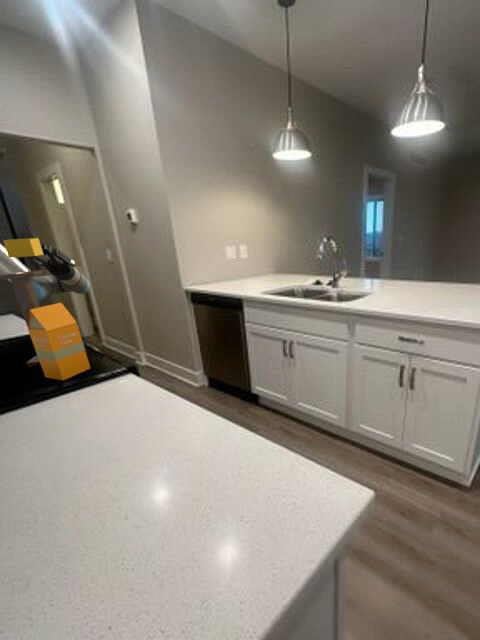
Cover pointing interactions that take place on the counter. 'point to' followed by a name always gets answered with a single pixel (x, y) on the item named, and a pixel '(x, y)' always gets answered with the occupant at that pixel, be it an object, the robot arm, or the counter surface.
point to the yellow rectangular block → (23, 247)
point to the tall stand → (25, 297)
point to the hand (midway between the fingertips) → (29, 242)
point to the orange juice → (57, 342)
